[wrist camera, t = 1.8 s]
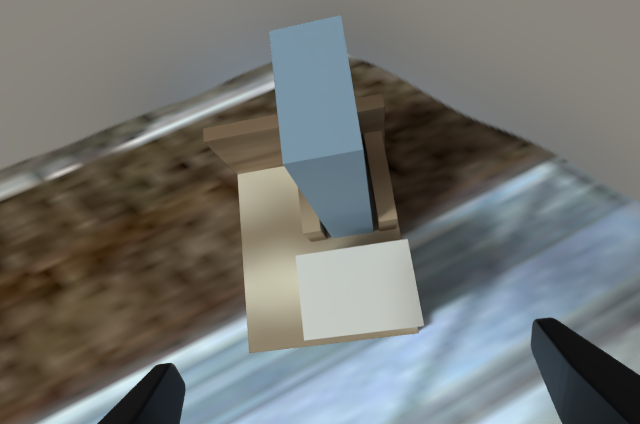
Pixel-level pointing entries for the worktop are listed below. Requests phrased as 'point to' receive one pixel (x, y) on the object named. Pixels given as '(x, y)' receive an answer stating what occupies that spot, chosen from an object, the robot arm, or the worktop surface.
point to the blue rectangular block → (321, 124)
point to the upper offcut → (358, 290)
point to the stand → (294, 222)
